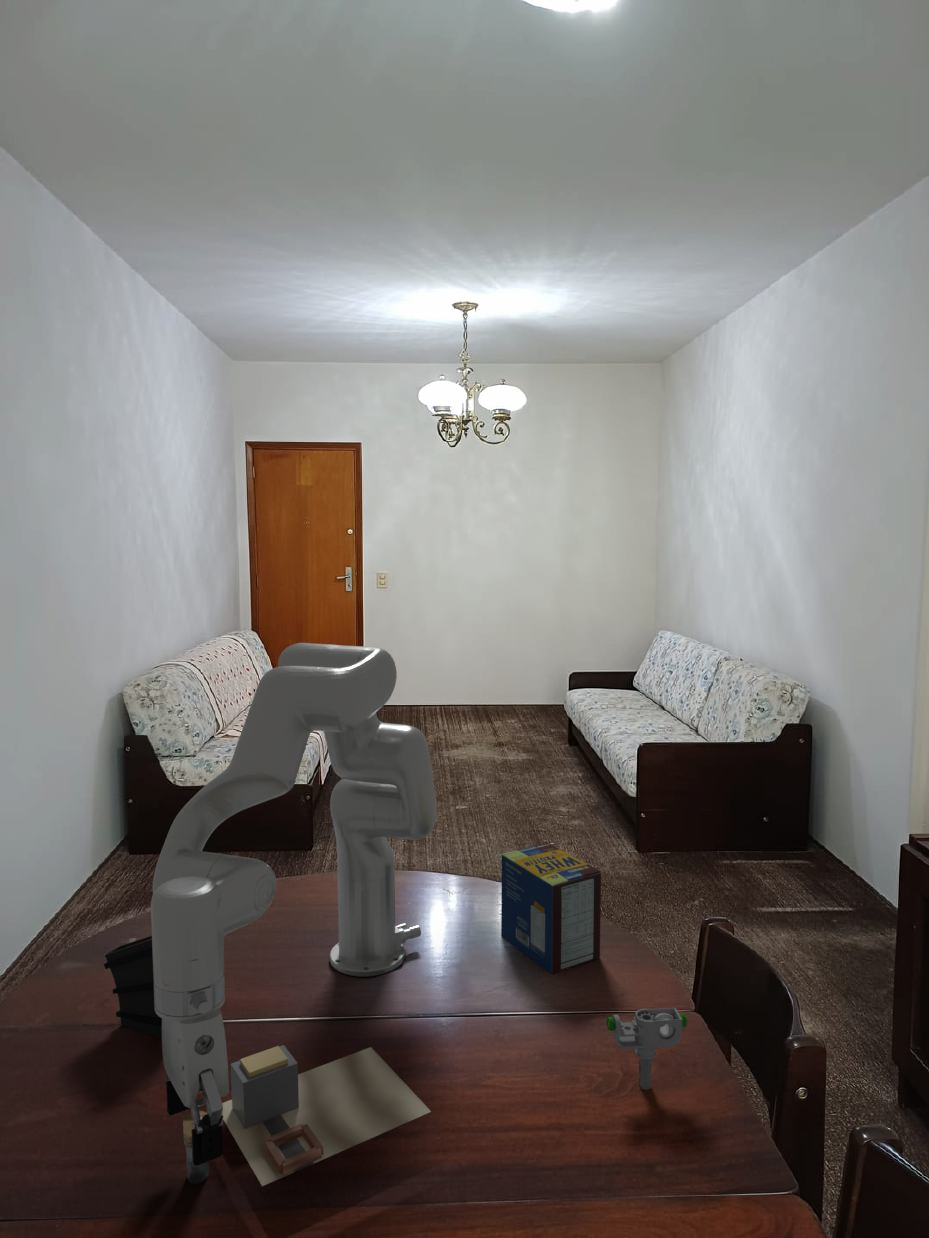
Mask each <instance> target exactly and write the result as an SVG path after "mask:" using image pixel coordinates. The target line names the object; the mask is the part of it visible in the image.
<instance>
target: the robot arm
mask: <svg viewBox="0 0 929 1238" xmlns="http://www.w3.org/2000/svg"><path fill="white" fill-rule="evenodd" d="M277 661H278V662H277V666H276V667H273V668H271V669H269V670H268V671H266V672H265V673H264V675H263V676H262V677H261V679H260V681H259V683H258V685H257V687H256V690H255V693H254V696H253V699H252V701H251V704H250V707H249V710H248V712H247V715H246V719H245V721H244V724H243V726H242V730H241V733H240V735H239V737H238V740H237V743H236V746H235V749H234V753H233V755H232V757H231V761H230V763H229V765H228V766H227V768H226V769H224V771H222V772H221V773H220V774H218V775H217V776H216V777H214V778H213V779H212V780H210V781H209V782H208V783H207V784H205V785H204V786H203V787H202V788H201V789H200V790H199V791H198V792H197V793H196V794H194V795H193V797H191V798H190V799H189V801H188V802H187V803H186V804H185V805H184V806H183V807H182V808H181V810H180V811H179V812H178V813H177V815H176V816H175V818H174V819H173V822H172V824H171V825H170V828H169V829H168V830H169V831H168V833H167V834H166V835H167V836H166V838H165V841H164V843H163V846H162V848H161V851H160V854H159V857H158V859H157V862H156V866H155V870H154V872H153V873H154V874H153V878H152V897H151V901H150V915H151V917H150V919H151V920H150V921H151V936H152V950H153V977H154V1004H155V1005H154V1006H155V1012H156V1014H157V1015H158V1016H159V1017H161V1018H162V1039H161V1048H162V1049H161V1050H162V1060H163V1061H162V1062H163V1066H164V1070H165V1076H166V1079H167V1080H168V1081H166V1083H165V1084H166V1085H165V1086H166V1089H165V1090H166V1112H167V1114H168V1115H169V1116H173V1115H176V1114H179V1113H181V1112H184V1111H185V1112H186V1111H187V1110H190V1111H191V1112H190V1113H192V1117H193V1122H194V1126H195V1129H192V1159H193V1163H194V1165H195V1166H198V1165H200V1164H203V1163H205V1162H208V1161H209V1162H210V1161H212V1160H216V1159H218V1158H220V1157H221V1156H223V1154H224V1135H223V1134H224V1133H223V1127H224V1126H223V1125H224V1120H223V1115H222V1111H223V1105H222V1103H223V1102H222V1101H223V1100H222V1099H221V1098H223V1097H224V1098H226V1097H228V1095H229V1093H230V1077H229V1064H228V1063H229V1062H228V1052H227V1051H228V1049H227V1041H226V1031H225V1026H224V1018H223V1014H222V1010H221V1008H222V1007H223V1006H224V1004H225V1001H226V992H225V991H226V989H225V985H226V984H225V955H224V954H225V951H224V947H225V945H224V938H225V936H226V935H227V934H229V933H231V932H234V931H236V930H238V929H241V928H243V927H246V926H248V925H250V924H252V923H254V922H255V921H256V920H258V919H260V917H262V916H263V915H264V914H266V912H267V910H269V908H270V906H272V903H273V901H274V898H275V895H276V891H277V878H276V875H275V871H274V870H273V868H272V867H271V866H270V865H268V863H266V862H264V861H263V860H261V859H257V858H253V857H248V856H241V855H240V856H239V855H232V854H231V855H230V854H225V853H218V852H217V853H216V852H211V851H210V852H209V851H203V849H204V848H205V845H206V843H207V841H208V840H209V838H210V837H211V835H212V833H213V832H214V831H215V830H216V829H217V828H218V826H220V825H221V824H222V823H224V821H226V820H227V819H229V818H230V817H232V816H234V815H236V814H237V813H239V812H241V811H244V810H246V809H248V808H251V807H253V806H256V805H259V804H262V803H265V802H267V801H270V800H273V799H276V798H278V797H280V796H283V795H285V794H287V793H288V792H290V791H291V790H292V789H293V788H294V785H295V783H296V780H297V778H298V773H299V770H300V768H301V763H302V760H303V758H304V754H305V751H306V747H307V745H308V742H309V738H310V735H311V733H312V732H314V731H316V732H317V731H319V732H323V733H324V738H325V743H326V747H327V751H328V757H329V762H330V764H331V767H332V770H333V772H334V773H335V774H336V775H337V776H338V777H340V778H341V780H339V781H338V782H337V783H336V784H335V785H334V787H333V788H332V791H331V795H330V799H329V800H330V803H329V806H330V808H329V809H330V815H331V820H332V821H331V822H332V824H333V829H334V834H335V841H336V843H335V844H336V854H337V855H336V859H337V908H338V910H337V911H338V912H337V913H338V915H337V916H338V919H337V920H338V943H335V945H334V946H333V947H332V948H331V950H330V952H329V961H330V964H331V966H332V967H333V969H335V970H336V971H338V972H340V973H341V974H344V975H348V976H353V977H360V978H361V977H363V978H364V977H365V978H366V977H374V976H375V977H376V976H380V975H384V974H387V973H389V972H393V971H394V970H396V969H397V968H398V967H400V966H401V965H402V964H403V962H404V961H405V957H406V956H405V955H406V950H405V946H404V945H403V944H405V943H406V941H407V940H412V939H416V938H418V937H421V935H422V931H421V927H420V925H418V924H416V925H413V926H409V927H408V926H407V924H406V923H403V922H402V923H400V924H396V861H395V855H394V851H393V848H392V847H391V844H390V842H389V841H388V838H390V839H391V838H392V839H393V838H394V839H400V840H413V841H414V840H415V841H417V840H422V839H424V838H426V837H428V836H429V835H430V834H431V833H432V831H433V829H434V827H435V825H436V822H437V821H436V819H437V799H436V798H437V797H436V790H435V784H434V776H433V775H434V774H433V769H432V768H433V767H432V761H431V754H430V748H429V744H428V740H427V738H426V736H425V735H424V733H423V732H422V730H420V729H419V728H417V727H416V726H413V725H409V724H399V723H388V722H382V721H381V720H379V718H378V716H377V715H378V714H377V712H378V711H379V710H381V708H383V707H384V706H385V705H386V704H387V702H388V701H389V700H390V699H391V697H392V694H393V692H394V690H395V687H396V684H397V679H398V678H397V677H398V676H397V667H396V662H395V661H394V658H393V656H392V655H391V653H389V652H388V650H385V649H383V648H379V647H374V646H363V645H362V646H359V645H340V644H328V643H324V644H323V643H311V642H307V643H306V642H298V643H294V644H291V645H289V646H287V647H286V648H285V649H284V650H283V651H282V652H281V653H280V655H279V657H278V660H277ZM201 1093H202V1094H203V1097H200V1098H198V1099H197V1096H198V1094H201ZM204 1105H206V1113H207V1114H206V1115H204V1116H203V1117H202V1119H201V1118H200V1113H199V1111H200V1109H199V1107H203V1106H204Z"/></svg>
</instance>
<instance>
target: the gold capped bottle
mask: <svg viewBox="0 0 929 1238" xmlns="http://www.w3.org/2000/svg"><path fill="white" fill-rule="evenodd" d="M199 1113H200V1118H201V1119H202V1117H203V1116H204V1115H206V1114H207V1111H203V1110H199ZM182 1129H183V1131H182V1132H183V1145H184V1146H185V1155H186V1156H185V1157H186V1158H185V1159H186V1176H187V1177H186V1179H187V1181H188V1182H189V1183H191V1184H200V1183H202V1182H204V1181H206V1180H207V1179H208V1177H209V1175H210V1165H209V1164H210V1163H209V1162H210V1161H208V1162H205V1163H203V1164H200V1165H198V1166H195V1165H194V1163H193V1159H192V1129H195V1126H194V1122H193V1117H192V1112H190V1113H188V1114H187V1115H185V1116H184V1118H183V1119H182Z"/></svg>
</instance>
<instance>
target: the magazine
mask: <svg viewBox="0 0 929 1238" xmlns="http://www.w3.org/2000/svg"><path fill="white" fill-rule="evenodd" d="M104 957H105V959H106V962H105V963H104V964H103V967H104V969H105V970H108V969H109V970H110V972H111V975H112V978H113V980H114V981H113V982H114V984H115V988H114V989H112V994H113V995H115V994H116V995H117V997H118V1005H119V1010H117V1011H116V1012H115V1017H116V1018H120V1024H121V1026H123V1027H125V1028H128V1029H131V1030H135V1031H137V1032H141V1033H143V1034H146V1035H149V1036H153V1037H155V1038H159V1039H160V1040H162V1018H161V1017H159V1016H158V1015H157V1014H156V1012H155V1006H154V1005H155V1004H154V977H153V950H152V935H149V936H147V937H143V938H140V939H138V940H134V941H132V942H128V943H125V944H122V945H119V946H118V947H116V948H114V949H113V950H110V951H109V952H107V953H105V954H104Z"/></svg>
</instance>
